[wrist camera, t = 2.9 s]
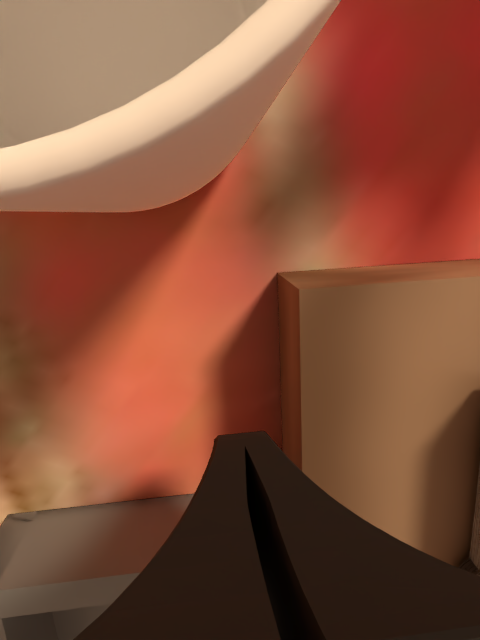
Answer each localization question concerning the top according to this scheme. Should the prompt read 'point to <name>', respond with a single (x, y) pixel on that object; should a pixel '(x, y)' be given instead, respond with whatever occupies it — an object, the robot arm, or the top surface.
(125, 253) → the top surface
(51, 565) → the tray
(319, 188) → the top surface
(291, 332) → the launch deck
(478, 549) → the lever
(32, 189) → the cup
